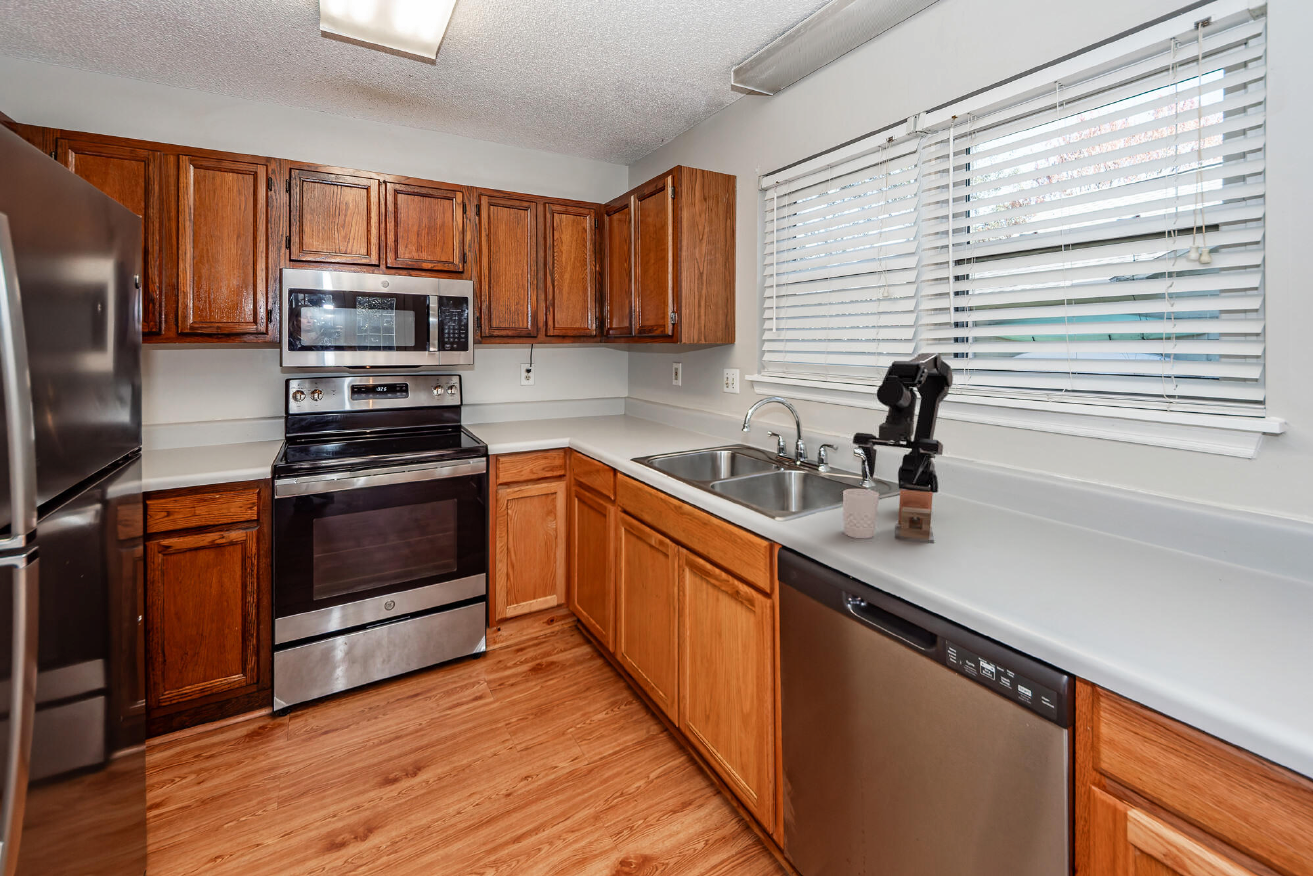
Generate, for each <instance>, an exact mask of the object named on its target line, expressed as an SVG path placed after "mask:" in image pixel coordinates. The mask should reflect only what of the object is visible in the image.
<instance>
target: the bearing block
mask: <svg viewBox="0 0 1313 876" xmlns="http://www.w3.org/2000/svg"><path fill="white" fill-rule="evenodd" d="M909 516H910V517H920V518H922V525H914V524H909ZM931 520H932V510H930V509H919V508H908V507H902V513H901V525H898V522H896V523H895V539H897V540H898V539H899V540H908V541H916V542H925V543H933V544H934V543H935V536H934V532H933V526H931V525H930V523H932V521H931Z"/></svg>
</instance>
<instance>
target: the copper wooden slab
mask: <svg viewBox="0 0 1313 876" xmlns="http://www.w3.org/2000/svg"><path fill="white" fill-rule="evenodd" d="M933 495H934V493H933V492H926V491H914V490H906V489H899V503H898V518H897V519H898V520H897V521H898V522H897V523H898V525H901V513H902V507H908V508H919V509H930V510H931V511H932V509H933V508H932V506H933ZM931 523H932V522H931ZM931 523H930V526H932V525H931ZM909 524H914V525H922V518H920V517H910V516H909Z"/></svg>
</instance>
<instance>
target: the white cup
mask: <svg viewBox="0 0 1313 876" xmlns="http://www.w3.org/2000/svg"><path fill="white" fill-rule="evenodd" d="M842 493H843V495H842V497H843V499H842V501H843V502H842V511H843V512H842V513H843V533H844V534H845V535H846V536H848V537H850V538H856V539H871V538H873V537H875V533H876V525H877V524H876V523H877V519H878V511H879V509H878V508H879V500H880V493H879V492H877V491H875V490H871V489H866V488H848V489H845V490H843V491H842Z"/></svg>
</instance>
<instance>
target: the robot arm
mask: <svg viewBox="0 0 1313 876" xmlns="http://www.w3.org/2000/svg"><path fill="white" fill-rule="evenodd" d="M953 380H954V376H953V371H952V368H951V365H950V364H948V363H947V362H945V361H944V360H943V359H942V356H941V354H940V353H939V354H938V353H935V352H934V353H931V352H930V353H929V352H928V353H927V352H926V353H924V352H922V353H918V355H917V356H916V357H915V356H914V358H911V359H909V360H893V362H892V363H891V365H889V367H888V369H887V370H886V373H885V376H884V377H883V380H882V383H881V384H880V385H879V387H878V389H877V390H876V397H877V400H878V401H879V402H880V404H882V405H883V406H885V407H886V408H888V412H887V414H886V417H885V421H884V422H881V424H879V425H878V437H877V436H876V435H874V434H873V433H868V432H867V433H866V432H856V433H855V434H854V435H853V438H852V444H853V445H855V446H857V448H858V449H859V450H862V452H863V454H864V456H865V460H866V464H867V467H868V468H867V469H868V474H869V477H870V478H871V479H872V478H874V474H875V468H876V459H877V453H878V452H877V451H878V450H877V449H876V448H875V446H880V447H881V446H882V447H890V448H900V449H909V450H910V451H909V452H908V453H905V454H904V455H903V456H902V461H901V465H900V466H899V468H898V471H897V480H898V481H897V482H898V483H897V484H898V489H899V490H900V489H901V490H914V491H926V492H933V494H935V493H939V481H938V479H939V478H938V475H937V473H936V469H935V463H934V462H933V460H932V459H936V456H937V455H938V456H943V451H944V444H943V443H942V442H941V441H939V440H938V439H934V435H935V430H936V423H937V420H938V419H937V418H938V412H939V408H940V404H941V402H942V401H944V400H945V399H946V397H948V394H949V392H950V391H949V390H950V388H951V387H952V386H953V383H954V382H953ZM914 388H916V390H917V392H918V394H919V396H920V403H919V407H918V414H917V415H918V416H917V420H916V426H915V427H914V425H915V420H914V419H915V413H916V407H917V400H918V394H917V392H915V389H914ZM914 428H915V429H914ZM912 436H913V438H912ZM912 439H913V440H912ZM902 442H903V443H902Z"/></svg>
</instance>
